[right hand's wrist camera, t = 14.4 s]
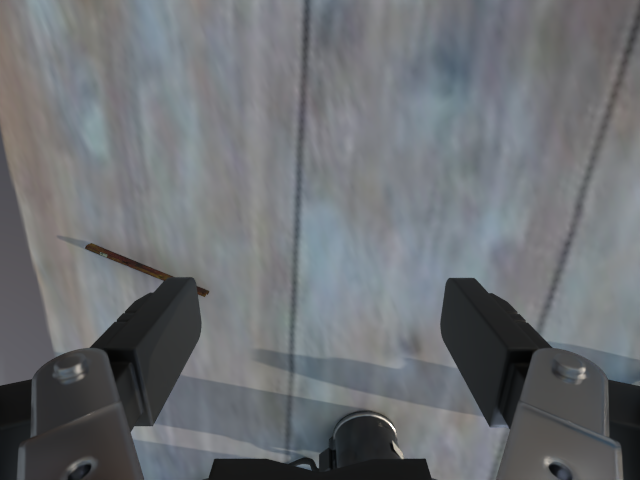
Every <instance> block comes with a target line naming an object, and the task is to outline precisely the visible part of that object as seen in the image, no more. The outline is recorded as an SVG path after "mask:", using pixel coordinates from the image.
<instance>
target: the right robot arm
mask: <svg viewBox="0 0 640 480" xmlns="http://www.w3.org/2000/svg"><path fill="white" fill-rule="evenodd" d="M440 326H441V334H442V338H443V341H444V343H445V345H446V346H447V348H448V350H449V352H450V354H451V356H452V358H453V359H454V361H455V363H456V365H457V367H458V369H459V371H460V372H461V374H462V376H463V378H464V380H465V382H466V384H467V385H468V387H469V389H470V391H471V393H472V395H473V397H474V399H475V400H476V402H477V404H478V406H479V408H480V410H481V412H482V413H483V415H484V417H485V419H486V421H487V423H488V425H489V426H490V427H509V429H510V432H509V436H508V439H507V443H506V446H505V450H504V453H503V457H502V460H501V463H500V467H499V470H498V474H497V477H496V480H640V386H636V385H631V384H626V383H621V382H616V381H611V380H608V379H607V377H606V375H605V373H604V372H603V371H602V370H601V369H600V368H599V367H598V366H597V365H595V364H594V363H593V362H591V361H589V360H588V359H586V358H584V357H582V356H580V355H578V354H575V353H572V352H569V351H566V350H562V349H556V348H552V347H551V346H550V345H549V344H548V343H547V342H546V341H545V340H544V339H543V338H542V337H541V336H540V335H539V334H538V333H537V332H536V331H535V330H534V329H533V327H532V326H531V325H530V324H529V323H526V320H525V319H524V318H523V317H522V316H521V315H520V314H517V311H516V310H515V309H514V308H513V307H512V306H511V305H510V304H509V303H508V302H507V301H505V300H503V299H501V298H500V297H498V296H496V295H494V294H493V293H488V292H487V291H486V290H485V289H484V288H483V287H482V286H481V284H480V283H479V282H478V281H477V280H476V279H475V278H449V279H448V280H447V282H446V286H445V293H444V300H443V307H442V314H441V323H440ZM200 333H201V315H200V308H199V301H198V293H197V286H196V282H195V280H194V278H192V277H169V278H167V279H166V280H165V281H164V282H163V283H162V284H161V285H160V286H159V287H158V288H157V290H156V291H155V292H154V293H149V294H147V295H145V296H143V297H142V298H140V299H138V300H136V301H135V302H134V303H133V304H132V305H131V306H130V307H129V308H128V309H127V310H126V311H125V313H123V314H122V315H121V316H120V317H119V318H118V319H117V322H114V323H113V324H112V325H111V326H110V327H109V328H108V329H107V330H106V332H105V333H104V334H103V335H102V336H101V337H100V338H99V339H98V340H97V341H96V342H95V343H94V344H93V345H92V346H91V347H90V348H84V349H78V350H74V351H71V352H68V353H65V354H62V355H60V356H58V357H56V358H54V359H52V360H51V361H49V362H47V363H46V364H45V365H43V366H42V367H41V368H40V369H39V370H38V371H37V372H36V373H35V375H34V377H33V379H31V380H26V381H21V382H16V383H11V384H7V385H2V386H0V480H144V477H143V474H142V470H141V467H140V463H139V460H138V457H137V453H136V450H135V446H134V443H133V439H132V436H131V431H132V429H133V427H134V426H153V425H154V423H155V421H156V419H157V417H158V415H159V413H160V411H161V410H162V408H163V406H164V404H165V402H166V400H167V398H168V396H169V395H170V393H171V391H172V389H173V387H174V385H175V383H176V381H177V379H178V378H179V376H180V374H181V372H182V370H183V368H184V366H185V364H186V363H187V361H188V359H189V357H190V355H191V353H192V351H193V349H194V347H195V346H196V344H197V342H198V340H199V337H200ZM401 458H402V459H401ZM300 464H308V465H310V466H311V469H312V471H311V470H307V469H303V468H300V467H296V466H297V465H300ZM204 480H436V479H433V478H431V475H430V472H429V469H428V465H427V462H426V459H404V458H403V453H402V452H401V451H400V449H399V446H398V442H397V435H396V431H395V427H394V425H393V423H392V422H391V421H390V420H389V419H388V418H387V417H385V416H383V415H381V414H379V413H375V412H369V411H363V412H356V413H353V414H350V415H348V416H346V417H344V418H343V419H342V420H341V421H340V422H339V423H338V424H337V425H336V427H335V429H334V434H333V437H332V438H331V439H329V448H328V449H326V450H325V451H324V452H322V453H321V454H319V469H318V468H317V467H316V464H315V462H314V461H313V460H312V459H310V458H302V459H299V460H297V461H295V462H292V463H290V464H284V463H280V462H277V461H273V460H269V459H214V462H213V465H212V469H211V472H210V475H209V478H207V479H204Z"/></svg>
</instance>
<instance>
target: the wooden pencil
mask: <svg viewBox="0 0 640 480" xmlns="http://www.w3.org/2000/svg"><path fill="white" fill-rule="evenodd" d="M85 249H87V250H89V251H92V252H94V253H97V254H99V255H102V256H104V257H106V258H109V259H111V260H114V261H116V262H119V263H122V264H124V265H127V266H129V267H131V268H134V269H136V270H139V271H141V272H144V273H146V274H149V275H151V276H153V277H156V278H159V279H161V280H164V281H165V280H166V279H167V278H169V277H173V276H170V275H168V274H165V273H163V272H160V271H158V270H155V269H153V268H150V267H148V266H145V265H143V264H140V263H138V262H136V261H133V260H131V259H128V258H126V257H123V256H121V255H119V254H116V253H114V252H111V251H109V250H106V249H104V248H102V247H99V246H97V245H94V244H92V243H91V244H88V245H87V246H86V247H85ZM197 293H198V295H201V296H204V297H205V296H206V294H207V295H208V293H209V291H208V290H205V289H202V288H200V287H197Z"/></svg>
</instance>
